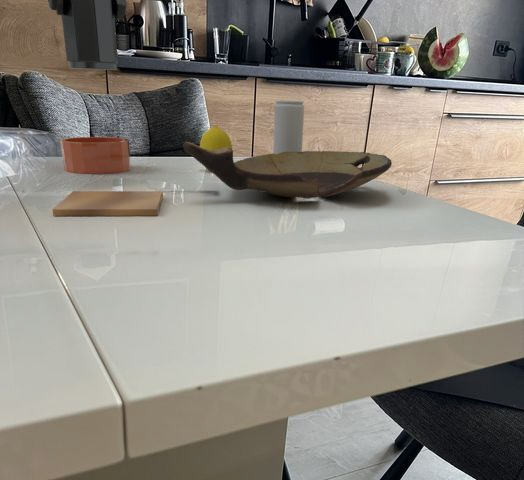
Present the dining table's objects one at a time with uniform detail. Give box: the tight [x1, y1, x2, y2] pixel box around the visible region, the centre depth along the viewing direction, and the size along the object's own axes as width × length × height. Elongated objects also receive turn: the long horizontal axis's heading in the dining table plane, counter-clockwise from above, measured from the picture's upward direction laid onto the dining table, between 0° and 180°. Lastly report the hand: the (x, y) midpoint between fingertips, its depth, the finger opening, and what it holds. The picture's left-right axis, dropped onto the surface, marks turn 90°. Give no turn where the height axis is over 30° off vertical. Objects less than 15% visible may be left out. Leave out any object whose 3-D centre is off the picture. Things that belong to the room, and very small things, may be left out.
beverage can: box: [272, 100, 305, 154], centre depth 91 cm, size 5×5×12 cm
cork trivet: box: [52, 190, 164, 217], centre depth 70 cm, size 12×12×1 cm
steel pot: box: [61, 0, 119, 71], centre depth 70 cm, size 6×6×10 cm
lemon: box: [199, 125, 233, 169], centre depth 93 cm, size 6×6×8 cm
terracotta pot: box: [59, 136, 132, 175], centre depth 92 cm, size 11×11×6 cm
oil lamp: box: [182, 141, 393, 200], centre depth 78 cm, size 22×30×8 cm
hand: (90, 11), depth 68 cm, fingers closed on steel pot, 6 cm apart
